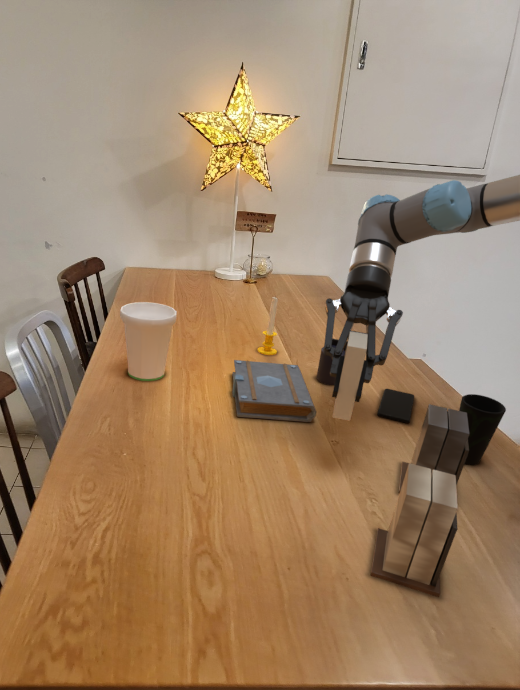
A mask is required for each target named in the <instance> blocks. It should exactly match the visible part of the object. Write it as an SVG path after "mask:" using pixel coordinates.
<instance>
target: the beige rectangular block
mask: <svg viewBox="0 0 520 690" xmlns="http://www.w3.org/2000/svg"><path fill="white" fill-rule="evenodd" d="M367 338H368V334H367V333H366V332H362V331H355V330H351V331H350V332H349V337H348V340H347V346H346V351H345V359H344V364H343V369H342V374H341V379H340V384H339V389H338V394H337V398H335V397H334V399H335V400H334V406H333V411H332V418H333V419H337V420H338V419H339V420H343V421H348V422H351V420H352V415H353V410H354V407H355V404H356V402H355V398H356V394H357V389H358V385H359V381H360V377H361V372H362V368H363V364H364V360H366V351H367Z"/></svg>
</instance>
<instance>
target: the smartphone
mask: <svg viewBox="0 0 520 690" xmlns="http://www.w3.org/2000/svg"><path fill="white" fill-rule="evenodd" d="M414 400H415V395H414V394H413V393H408V392H405V391H399V390H395V389H391V388H384V390H383V393H382V396H381V399H380V404H379V408H378V410H377V416H378V417H379V418H384V419H387V420H392V421H396V422H400V423H404V424H409V423H410V422H411V418H412V412H413V406H414Z"/></svg>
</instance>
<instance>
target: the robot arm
mask: <svg viewBox="0 0 520 690" xmlns="http://www.w3.org/2000/svg"><path fill="white" fill-rule="evenodd" d="M515 222H520V174H517V175H514V176H511V177H510V176H509V177H506V178H502V179H498V180H493V181H491V182H487V183H482V184H478V185H474V186H470V187H466V186H465V185H464V184H462V182H461V181H459V180H455V179H453V180H450V181H446V182H443V183H437V184H435V185H433V186H432V187H430V188H427V189H425V190H423V191H419V192H417V193H415V194H413V195H410V196H407V197H405V198H403V199H400V198H398V197H396V196H394V195H392V194H387V193H386V194H384V195H381V194H377V195H373V196H371V197H370V198H368V199H367V200H366V201H365V202H364V204H363V207H362V210H361V212H360V216H359V218H358V222H357V230H356V235H355V242H354V247H353V249H352V253H351V259H350V263H349V268H348V274H347V277H346V278H347V279H346V282H345V288H344V291H343V294H342V295H341V296H340V297H339V298H338V299H332V298H327V299H326V300H325V306H324V310H325V314H326V317H327V318H326V325H325V326H326V327H325V334H324V335H325V336H324V343H323V344H324V345H323V347H324V351H323V353H324V355H326V356H330V357H331V358H332V364H331V369H330V376H332V377H336V380H335V385H333V390H332V394H331V398H334V399H335V398H337V394H338V389H339V384H340V379H341V374H342V369H343V364H344V359H345V356H341V355H342V352H343V350H344V347H345V345H346V342H347V341H348V337H349V332H350V331H352V329H353V327H354V324H361V325H364V326H365V333H367V334H368V338H367V351H366V355H365V359H364V364H363V368H362V372H361V377H360V381H359V385H358V389H357V394H356V398H355V403H360V401H361V398H362V395H363V388H364V383H365V384H370V382H371V381H372V378H373V373H374V367H375V366H382V367H383V366H384V365H385V364H386V360H387V358H388V355H389V351H390V347H391V344H392V341H393V337H394V334H395V329H396V327H397V326H398V324H399V323H400V321H401V319H402V317H403V314H404V312H403V311H402V310H401V309H397V310H396V309H394V308H392V307H391V305H390V301H389V294H390V288H391V285H392V284H391V283H392V277H393V272H394V267H395V261H396V255H397V250H398V247H400V246H403V245H406V244H411V243H412V242H416V241H419V240H423V239H425V238H429V237H432V236H441V235H448V234H449V235H451V234H456V233H457V234H458V233H460V234H461V233H462V234H464V233H465V234H466V233H472V232H476V231H478V230H480V229H481V230H482V229H487V228H491V227H494V226H500V225H504V224H505V225H506V224H510V223H515ZM339 308H341V310H342V311H343V314H344V315H345V317H346V320H345V322H344V325H343V328H342V331H341V333H340V335H339V338H338V343H337V345H336V348H334V347H332V338H333V339H334V327H335V317H336V314H337V313H338V312H339ZM385 315H386V321H387V327H386V329H385V334H384V337H383V340H382V344H381V347H380V351H379V354H376V335H377V333H376V331H377V330H376V327H377V326H376V324H377V322H378V321H379V320H380V319H381V318H383V317H384V316H385Z"/></svg>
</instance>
